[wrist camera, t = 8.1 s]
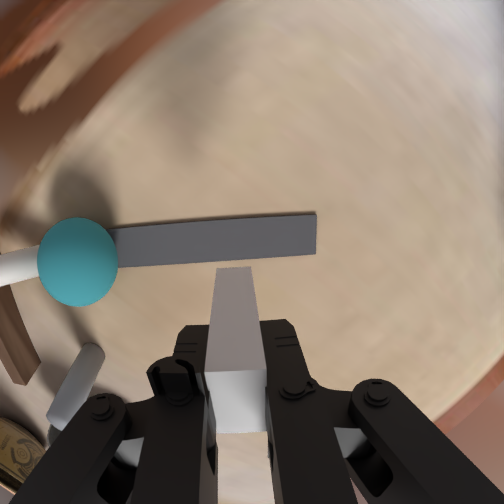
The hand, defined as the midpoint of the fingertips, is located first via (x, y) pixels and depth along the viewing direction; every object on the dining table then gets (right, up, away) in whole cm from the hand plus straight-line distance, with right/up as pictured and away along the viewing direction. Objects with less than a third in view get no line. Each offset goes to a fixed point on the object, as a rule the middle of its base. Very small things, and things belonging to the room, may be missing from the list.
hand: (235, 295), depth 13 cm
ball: (-11, +1, +4) cm, 12 cm away
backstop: (-23, -2, +7) cm, 25 cm away
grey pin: (-14, -8, +10) cm, 19 cm away
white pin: (-15, +2, +6) cm, 16 cm away
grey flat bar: (-3, +3, +7) cm, 8 cm away
